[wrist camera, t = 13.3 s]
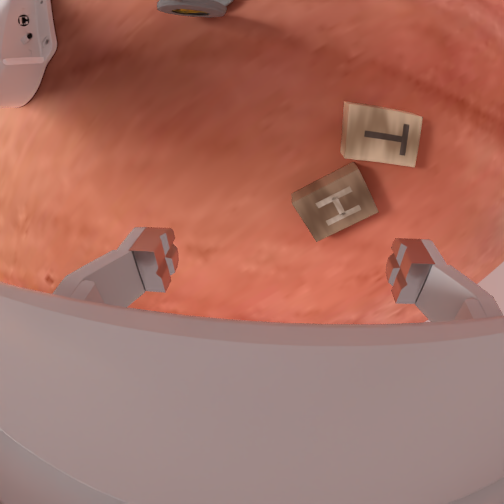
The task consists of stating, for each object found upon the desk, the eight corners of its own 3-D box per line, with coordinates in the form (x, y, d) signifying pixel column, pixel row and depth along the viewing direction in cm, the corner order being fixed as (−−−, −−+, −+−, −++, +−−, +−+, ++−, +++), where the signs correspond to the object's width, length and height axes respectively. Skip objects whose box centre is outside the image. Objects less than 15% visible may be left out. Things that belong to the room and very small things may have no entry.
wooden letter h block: (291, 203, 31) (358, 169, 28) (291, 192, 34) (352, 160, 30) (316, 242, 34) (378, 212, 30) (314, 229, 36) (372, 200, 33)
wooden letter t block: (349, 103, 24) (422, 117, 23) (343, 100, 26) (411, 112, 25) (344, 158, 27) (414, 167, 27) (339, 150, 30) (405, 159, 29)
